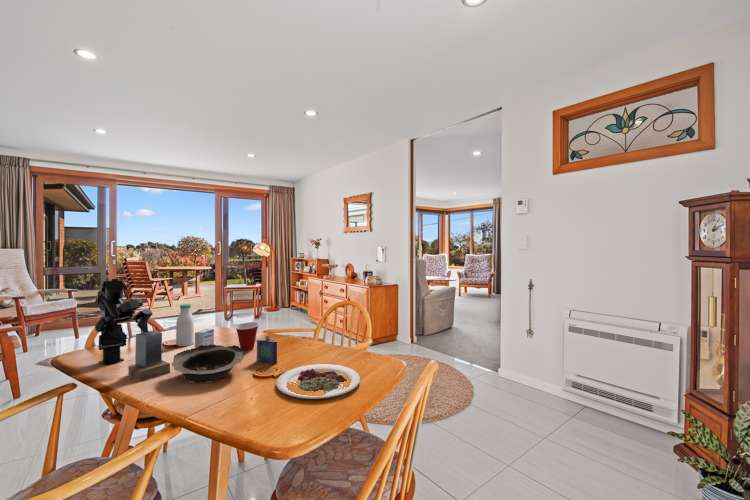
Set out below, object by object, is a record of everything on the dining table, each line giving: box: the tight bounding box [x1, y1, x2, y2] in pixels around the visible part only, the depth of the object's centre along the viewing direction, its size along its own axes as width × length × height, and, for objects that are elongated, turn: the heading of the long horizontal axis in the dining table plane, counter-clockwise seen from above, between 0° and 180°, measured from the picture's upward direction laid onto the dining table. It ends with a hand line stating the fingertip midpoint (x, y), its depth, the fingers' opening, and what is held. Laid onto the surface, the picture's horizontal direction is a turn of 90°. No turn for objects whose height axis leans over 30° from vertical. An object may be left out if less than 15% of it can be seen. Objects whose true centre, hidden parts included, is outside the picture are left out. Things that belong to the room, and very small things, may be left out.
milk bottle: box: [175, 303, 195, 347], centre depth 163 cm, size 8×8×20 cm
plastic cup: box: [234, 321, 260, 352], centre depth 156 cm, size 11×11×12 cm
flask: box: [256, 334, 278, 365], centre depth 139 cm, size 10×3×12 cm, turn 71°
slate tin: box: [134, 330, 163, 368], centre depth 125 cm, size 6×6×12 cm
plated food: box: [276, 363, 361, 400], centre depth 119 cm, size 30×30×3 cm
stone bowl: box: [170, 344, 244, 385], centre depth 124 cm, size 25×25×9 cm
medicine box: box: [194, 328, 215, 348], centre depth 157 cm, size 8×4×9 cm, turn 168°
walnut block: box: [127, 359, 171, 382], centre depth 125 cm, size 10×10×4 cm
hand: (135, 336), depth 127 cm, fingers open, 9 cm apart
